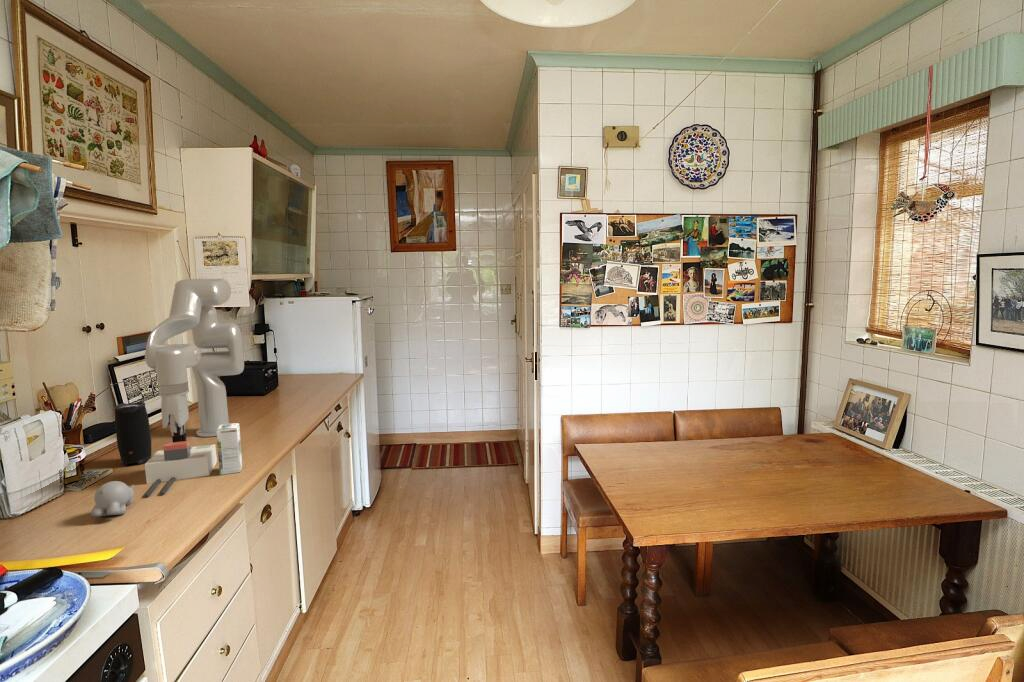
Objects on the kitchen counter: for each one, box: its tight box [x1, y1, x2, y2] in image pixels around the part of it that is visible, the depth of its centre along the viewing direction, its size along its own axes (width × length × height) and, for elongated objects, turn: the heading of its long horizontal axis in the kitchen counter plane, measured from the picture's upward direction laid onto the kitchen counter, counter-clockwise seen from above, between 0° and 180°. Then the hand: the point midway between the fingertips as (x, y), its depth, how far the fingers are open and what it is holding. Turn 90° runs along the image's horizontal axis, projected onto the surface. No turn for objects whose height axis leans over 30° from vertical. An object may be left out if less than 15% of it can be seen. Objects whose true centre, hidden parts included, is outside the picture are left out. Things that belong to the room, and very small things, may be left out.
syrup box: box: [216, 422, 243, 476], centre depth 155 cm, size 6×6×14 cm
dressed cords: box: [144, 477, 176, 498], centre depth 143 cm, size 11×5×1 cm, turn 20°
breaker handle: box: [162, 440, 191, 461], centre depth 150 cm, size 3×6×4 cm, turn 110°
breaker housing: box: [144, 443, 218, 485], centre depth 155 cm, size 12×16×6 cm
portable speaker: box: [114, 401, 152, 467], centre depth 163 cm, size 9×9×20 cm
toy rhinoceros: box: [90, 480, 135, 517], centre depth 130 cm, size 7×12×8 cm, turn 6°
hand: (180, 446), depth 153 cm, fingers closed
